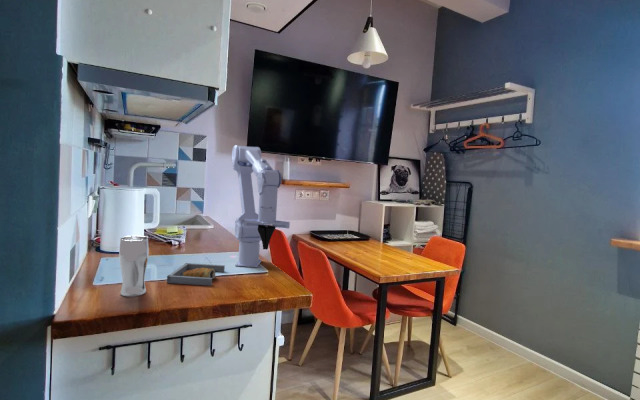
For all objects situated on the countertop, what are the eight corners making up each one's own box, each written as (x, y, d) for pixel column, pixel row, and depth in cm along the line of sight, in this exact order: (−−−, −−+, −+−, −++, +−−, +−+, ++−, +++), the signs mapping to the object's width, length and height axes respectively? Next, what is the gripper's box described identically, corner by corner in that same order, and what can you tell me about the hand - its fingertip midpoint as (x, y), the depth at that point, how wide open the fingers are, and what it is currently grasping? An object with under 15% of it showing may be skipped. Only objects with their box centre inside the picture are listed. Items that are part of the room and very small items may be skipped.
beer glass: (152, 289, 101) (153, 236, 100) (139, 298, 94) (141, 241, 93) (127, 287, 101) (128, 234, 100) (113, 296, 94) (113, 239, 93)
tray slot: (185, 268, 122) (186, 263, 122) (224, 271, 122) (224, 265, 122) (166, 282, 107) (167, 276, 107) (210, 285, 107) (211, 279, 107)
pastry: (178, 281, 110) (179, 269, 109) (188, 275, 116) (188, 263, 116) (209, 284, 109) (209, 271, 109) (217, 277, 116) (217, 265, 116)
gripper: (242, 207, 113) (240, 250, 114) (289, 210, 113) (286, 253, 114) (247, 204, 120) (245, 245, 121) (291, 207, 120) (288, 248, 121)
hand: (265, 248), depth 118 cm, fingers closed
